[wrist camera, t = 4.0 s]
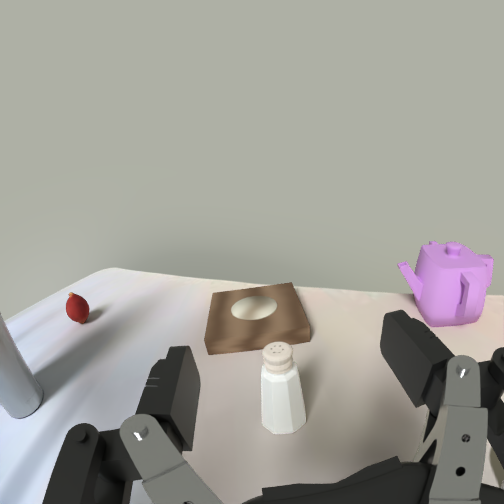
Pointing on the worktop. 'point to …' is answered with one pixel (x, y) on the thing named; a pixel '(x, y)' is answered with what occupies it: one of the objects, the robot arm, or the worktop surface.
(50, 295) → the worktop surface
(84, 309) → the onion
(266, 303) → the walnut plinth
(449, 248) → the teakettle
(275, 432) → the pepper shaker
